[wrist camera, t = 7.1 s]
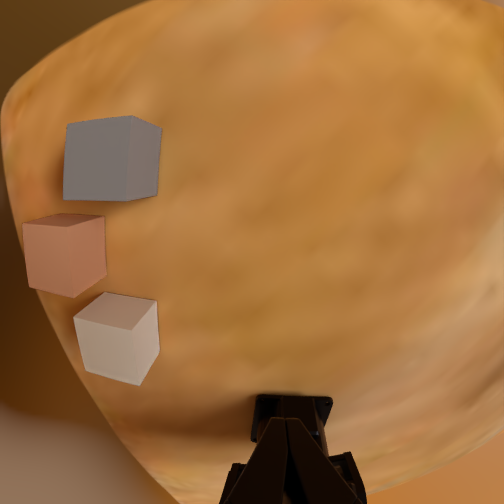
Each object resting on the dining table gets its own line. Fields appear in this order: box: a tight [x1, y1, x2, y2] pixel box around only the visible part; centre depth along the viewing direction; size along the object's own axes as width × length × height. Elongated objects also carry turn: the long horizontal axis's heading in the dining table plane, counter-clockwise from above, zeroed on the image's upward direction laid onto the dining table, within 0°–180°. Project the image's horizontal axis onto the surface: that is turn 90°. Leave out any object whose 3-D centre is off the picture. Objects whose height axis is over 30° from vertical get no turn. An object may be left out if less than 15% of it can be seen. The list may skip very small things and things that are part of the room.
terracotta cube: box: [22, 214, 107, 298], centre depth 17 cm, size 4×4×4 cm
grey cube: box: [63, 116, 162, 201], centre depth 15 cm, size 4×4×4 cm
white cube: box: [73, 292, 160, 386], centre depth 18 cm, size 4×4×4 cm
